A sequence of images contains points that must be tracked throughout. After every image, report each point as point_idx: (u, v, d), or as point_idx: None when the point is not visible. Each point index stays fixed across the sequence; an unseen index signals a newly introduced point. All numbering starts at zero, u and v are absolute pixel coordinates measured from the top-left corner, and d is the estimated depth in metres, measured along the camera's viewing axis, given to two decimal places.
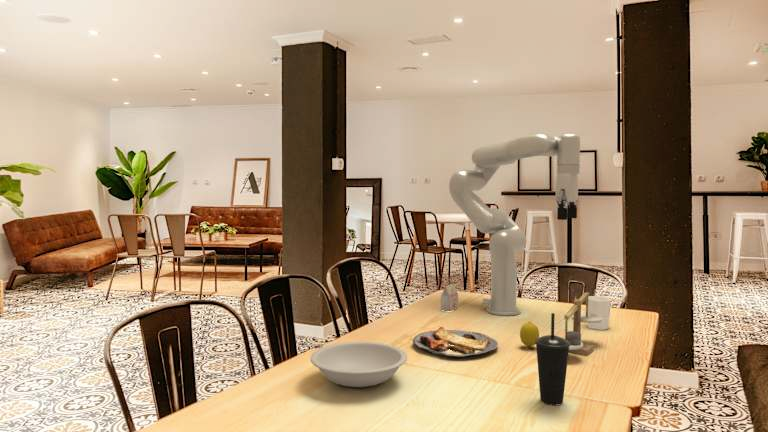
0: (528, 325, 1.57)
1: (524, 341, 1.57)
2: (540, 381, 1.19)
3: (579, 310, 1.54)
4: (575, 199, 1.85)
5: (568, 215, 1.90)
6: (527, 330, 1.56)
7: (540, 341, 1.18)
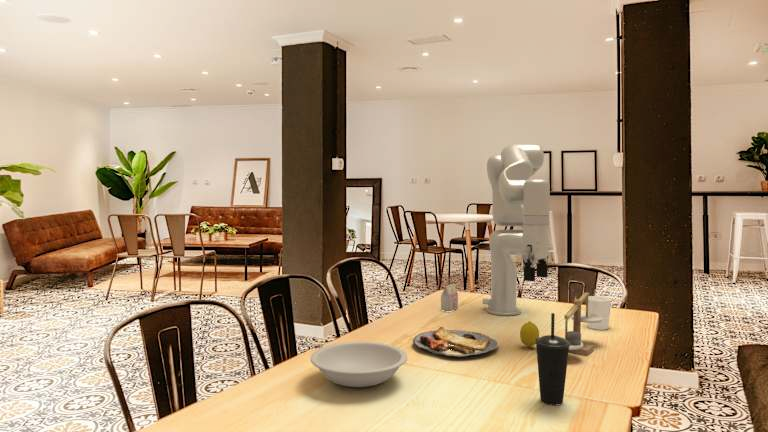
0: (528, 325, 1.57)
1: (524, 341, 1.57)
2: (540, 381, 1.19)
3: (579, 310, 1.54)
4: (545, 255, 1.57)
5: (537, 273, 1.61)
6: (527, 330, 1.56)
7: (540, 341, 1.18)
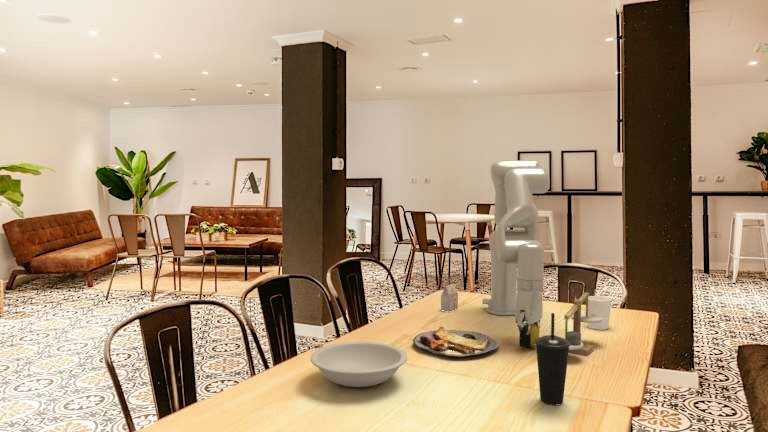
0: None
1: None
2: (540, 381, 1.19)
3: (579, 310, 1.54)
4: (539, 318, 1.58)
5: None
6: None
7: (540, 341, 1.18)
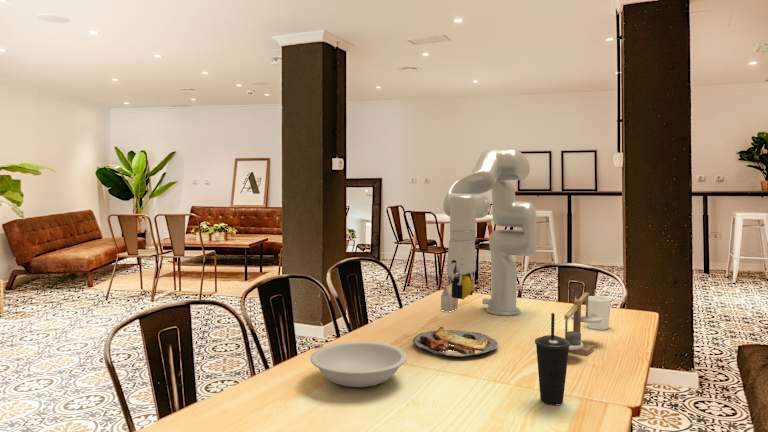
0: None
1: None
2: (540, 381, 1.19)
3: (579, 310, 1.54)
4: (471, 270, 1.58)
5: None
6: None
7: (540, 341, 1.18)
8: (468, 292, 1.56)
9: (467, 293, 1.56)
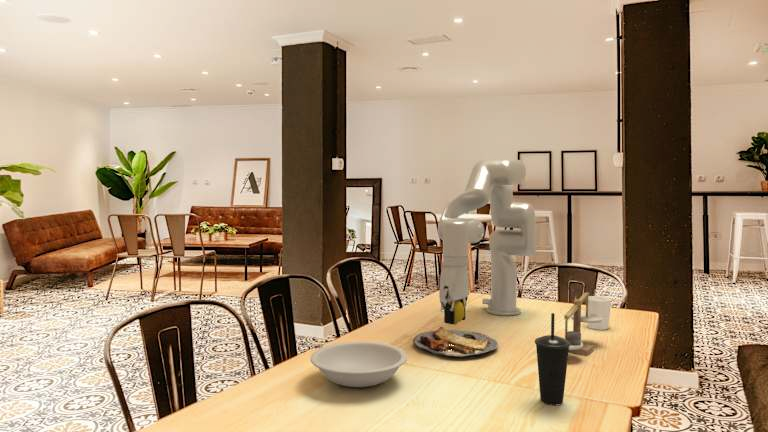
0: None
1: None
2: (540, 381, 1.19)
3: (579, 310, 1.54)
4: (464, 295, 1.59)
5: None
6: None
7: (540, 341, 1.18)
8: (460, 317, 1.57)
9: (459, 318, 1.57)
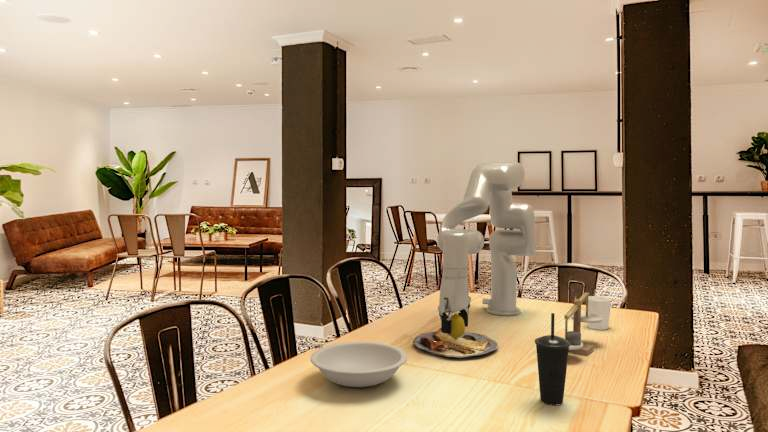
0: (453, 317, 1.58)
1: None
2: (540, 381, 1.19)
3: (579, 310, 1.54)
4: (464, 306, 1.59)
5: None
6: (452, 322, 1.57)
7: (540, 341, 1.18)
8: (461, 333, 1.57)
9: (460, 334, 1.57)
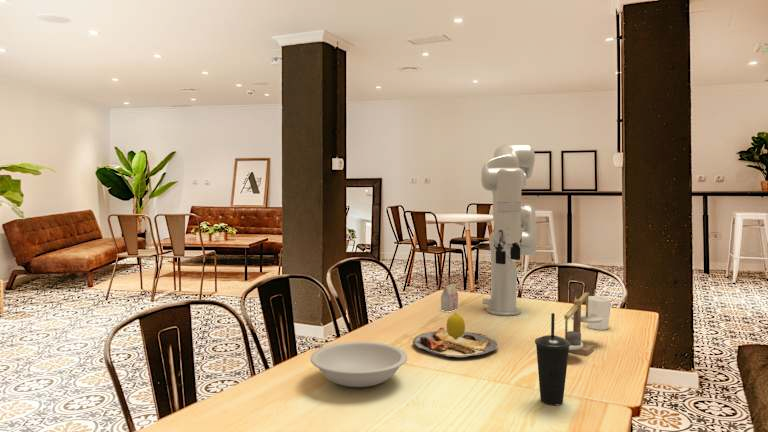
0: (453, 317, 1.58)
1: (450, 333, 1.58)
2: (540, 381, 1.19)
3: (579, 310, 1.54)
4: (517, 240, 1.67)
5: (511, 256, 1.72)
6: (453, 322, 1.57)
7: (540, 341, 1.18)
8: (461, 333, 1.57)
9: (460, 334, 1.57)
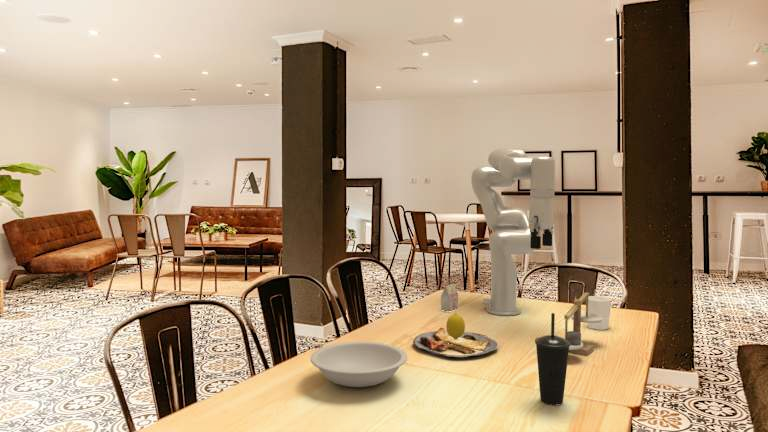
0: (453, 317, 1.58)
1: (449, 333, 1.58)
2: (540, 381, 1.19)
3: (579, 310, 1.54)
4: (550, 226, 1.73)
5: (543, 242, 1.77)
6: (452, 322, 1.57)
7: (540, 341, 1.18)
8: (461, 333, 1.57)
9: (460, 334, 1.57)
